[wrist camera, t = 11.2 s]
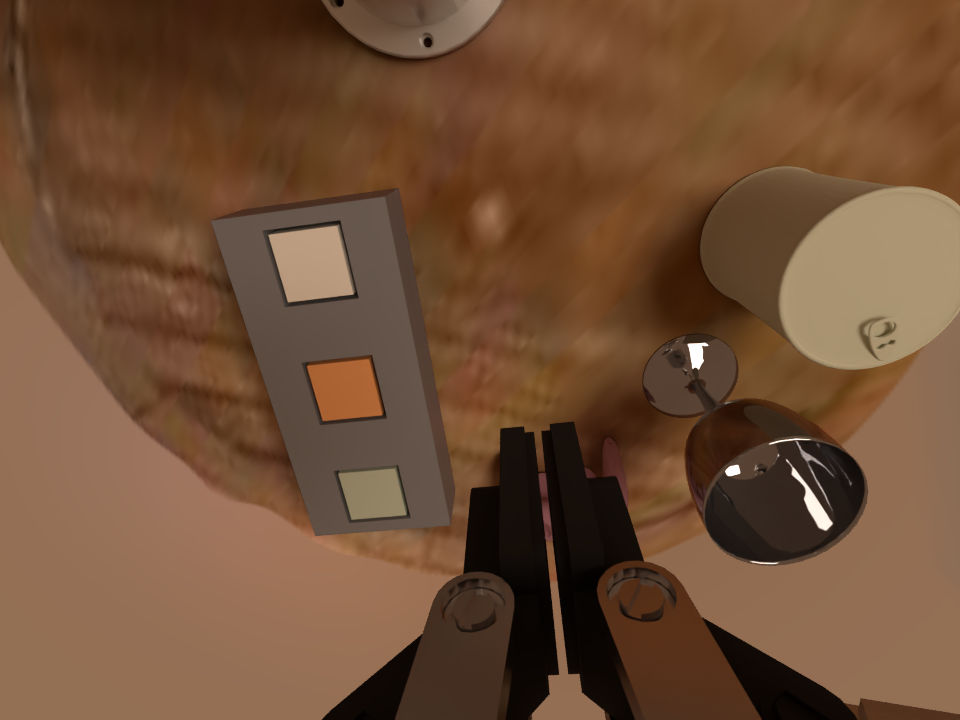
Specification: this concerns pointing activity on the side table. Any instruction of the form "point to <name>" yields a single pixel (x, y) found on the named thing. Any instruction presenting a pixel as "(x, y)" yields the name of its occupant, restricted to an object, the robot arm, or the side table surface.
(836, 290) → the can
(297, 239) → the button cream
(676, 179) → the side table surface
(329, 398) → the button orange
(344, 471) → the button sage
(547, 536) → the video game controller
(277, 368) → the button panel
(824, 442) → the wine glass
